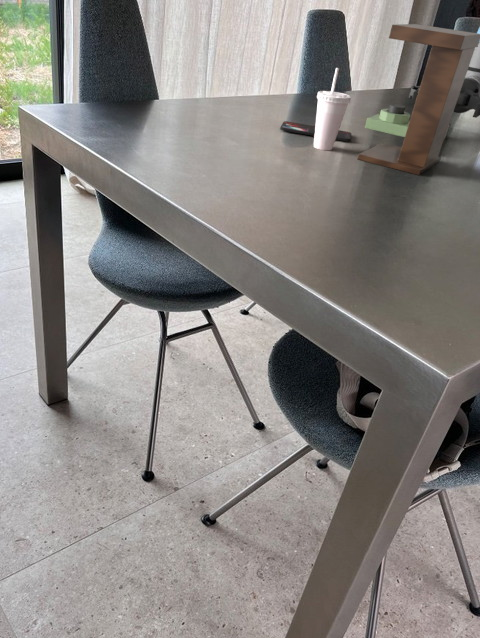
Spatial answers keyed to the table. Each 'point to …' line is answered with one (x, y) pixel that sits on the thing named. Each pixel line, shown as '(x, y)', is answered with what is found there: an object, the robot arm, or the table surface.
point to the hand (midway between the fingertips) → (444, 104)
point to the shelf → (429, 97)
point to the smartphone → (311, 130)
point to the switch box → (389, 122)
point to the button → (396, 109)
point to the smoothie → (329, 116)
